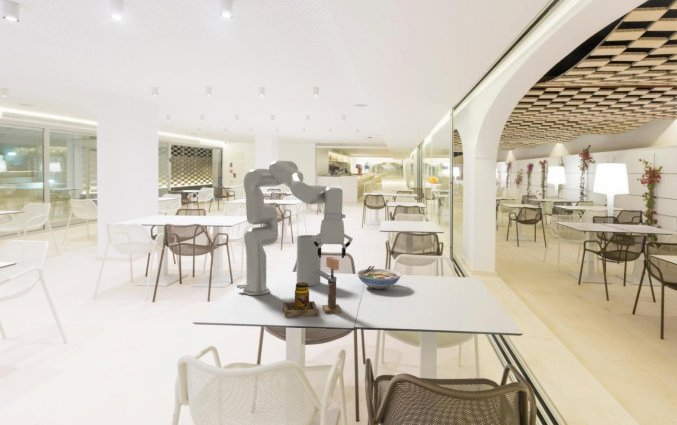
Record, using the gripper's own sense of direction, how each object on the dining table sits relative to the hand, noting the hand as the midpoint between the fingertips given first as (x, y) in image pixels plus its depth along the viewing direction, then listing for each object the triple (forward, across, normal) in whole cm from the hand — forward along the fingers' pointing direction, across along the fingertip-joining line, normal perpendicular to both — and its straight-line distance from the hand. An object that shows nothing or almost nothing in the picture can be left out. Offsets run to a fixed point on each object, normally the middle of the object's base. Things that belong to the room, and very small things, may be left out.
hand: (331, 257), depth 182 cm
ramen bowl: (+23, -28, -36) cm, 51 cm away
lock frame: (+23, +7, +1) cm, 24 cm away
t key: (+10, +2, -6) cm, 12 cm away
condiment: (+23, +13, +2) cm, 26 cm away
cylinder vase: (+24, +8, -45) cm, 51 cm away
